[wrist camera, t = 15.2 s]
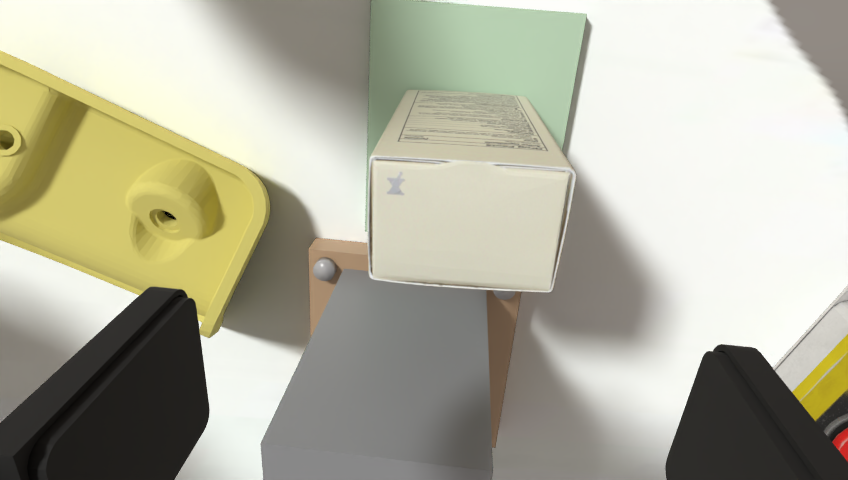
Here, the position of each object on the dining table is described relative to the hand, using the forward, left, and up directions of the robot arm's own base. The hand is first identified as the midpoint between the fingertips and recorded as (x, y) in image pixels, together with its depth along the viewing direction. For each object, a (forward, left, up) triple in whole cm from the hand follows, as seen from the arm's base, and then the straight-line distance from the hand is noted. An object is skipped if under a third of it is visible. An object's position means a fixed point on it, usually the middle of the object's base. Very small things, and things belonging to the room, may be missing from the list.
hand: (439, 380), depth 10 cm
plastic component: (-20, -4, -20) cm, 29 cm away
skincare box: (0, 0, -20) cm, 20 cm away
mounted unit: (-2, -13, -20) cm, 24 cm away
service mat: (0, 0, -20) cm, 20 cm away
